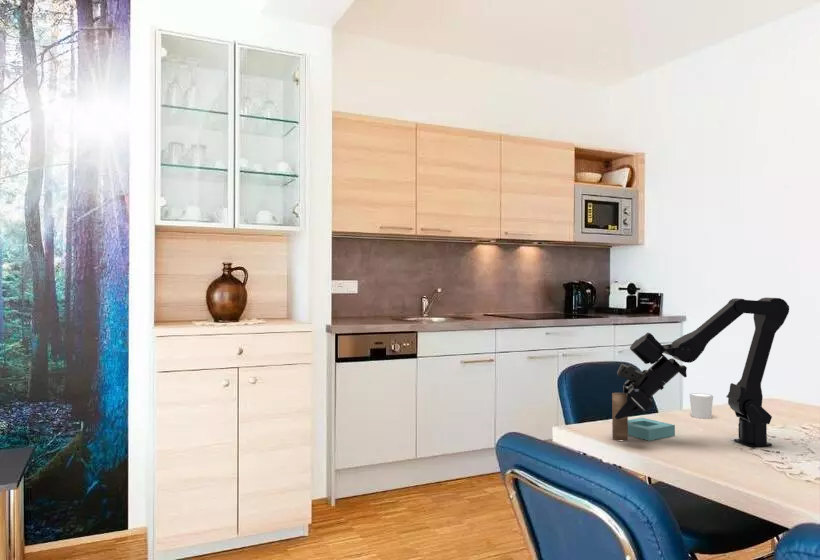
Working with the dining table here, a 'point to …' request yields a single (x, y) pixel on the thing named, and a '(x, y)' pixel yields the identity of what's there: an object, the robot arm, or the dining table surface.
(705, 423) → the dining table surface
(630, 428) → the socket block
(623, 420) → the walnut pin
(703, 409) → the white cup
